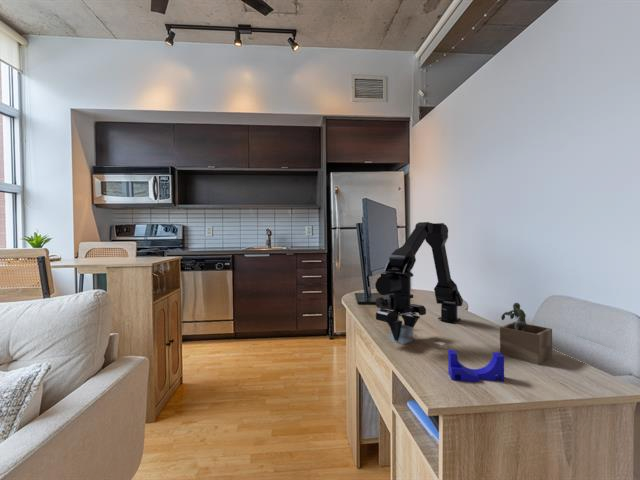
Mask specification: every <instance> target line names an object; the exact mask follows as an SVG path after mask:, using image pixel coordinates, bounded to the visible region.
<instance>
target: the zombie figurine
mask: <svg viewBox="0 0 640 480" xmlns="http://www.w3.org/2000/svg"><path fill="white" fill-rule="evenodd" d="M506 316H508V317H510V318H509V319H511V320H513V319H514V318H515V319H517V320H516V321H515V322H516V323H515V330H519V326H521V328H522V331H524V332H525V326H526V325H527V324H528V323H527V322H526V317H527V315H526V313H525V311H524V310H523V309H521V305H520V303H519V302H514V303H513V305H512V310H509V311H505V312H504V313H502V314H501V316H500V317H501V321H504V320H505V319H506Z"/></svg>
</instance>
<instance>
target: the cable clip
mask: <svg viewBox="0 0 640 480" xmlns="http://www.w3.org/2000/svg"><path fill="white" fill-rule="evenodd" d="M504 356H505V355H502V354H501V353H500V352H495V351H493V352H492V357H491V360H490V361H489V362H488V364H486V366H484V367H482V368H481V367H480V368H476V369H475V368H470V367H466V366H464V365H463V364H462V363H461V362H460V361H459V359H458V354H457V352H456V350H455V349H448V351H447V359H448V360H447V361H448V364H447V365H448V366H447V370H448V375H449V377H450V379H451V381H460V382H461V381H462V382H471V383H472V382H473V383H479V380H483V381H491V382H492V381H494V382H495V381H496V382H505V357H504Z"/></svg>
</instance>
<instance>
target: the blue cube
mask: <svg viewBox="0 0 640 480" xmlns="http://www.w3.org/2000/svg"><path fill="white" fill-rule="evenodd" d="M413 334H414V328H413V327H410V326H406V325H404V324H402V326H401V330H400V335H399V339H398V341H396V340H394V337H393V334H392V331H391V330H390V341H392V340H393V341H392V342H394V343H398V344H401V345H405V344H408V343H411V342H413V341H414V335H413Z"/></svg>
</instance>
